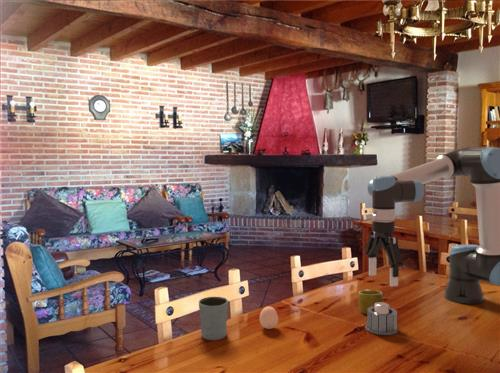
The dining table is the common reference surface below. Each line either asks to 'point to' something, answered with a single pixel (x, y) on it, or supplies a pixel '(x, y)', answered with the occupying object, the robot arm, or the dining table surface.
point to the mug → (369, 299)
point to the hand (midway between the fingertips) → (382, 280)
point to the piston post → (381, 309)
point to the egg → (268, 318)
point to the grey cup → (213, 317)
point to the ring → (382, 321)
